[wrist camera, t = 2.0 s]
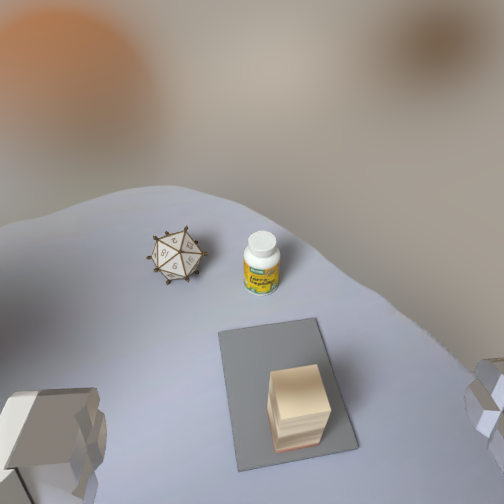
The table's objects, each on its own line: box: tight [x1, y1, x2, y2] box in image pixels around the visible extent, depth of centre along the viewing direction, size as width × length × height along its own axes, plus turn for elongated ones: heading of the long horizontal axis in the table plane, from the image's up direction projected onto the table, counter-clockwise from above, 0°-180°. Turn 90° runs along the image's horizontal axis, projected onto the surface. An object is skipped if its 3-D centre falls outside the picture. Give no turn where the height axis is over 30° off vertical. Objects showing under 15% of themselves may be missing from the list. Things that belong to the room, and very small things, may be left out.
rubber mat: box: [218, 318, 358, 472], centre depth 53 cm, size 18×14×1 cm
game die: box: [147, 226, 209, 285], centre depth 63 cm, size 9×8×10 cm
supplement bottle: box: [244, 231, 281, 296], centre depth 61 cm, size 5×5×10 cm
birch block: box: [267, 364, 331, 453], centre depth 46 cm, size 5×5×10 cm
